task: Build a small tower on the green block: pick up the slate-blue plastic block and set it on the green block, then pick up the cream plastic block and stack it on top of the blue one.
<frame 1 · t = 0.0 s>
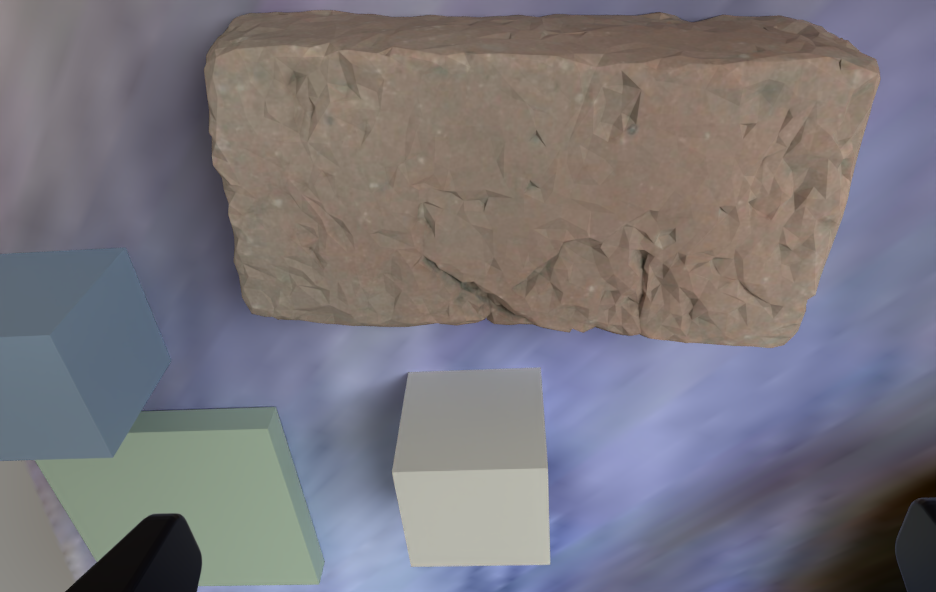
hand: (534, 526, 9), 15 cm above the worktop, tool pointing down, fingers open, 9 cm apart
brick: (517, 148, 22), on the worktop
blue block: (84, 308, 26), on the worktop
green block: (191, 493, 31), on the worktop
cream block: (478, 416, 28), on the worktop
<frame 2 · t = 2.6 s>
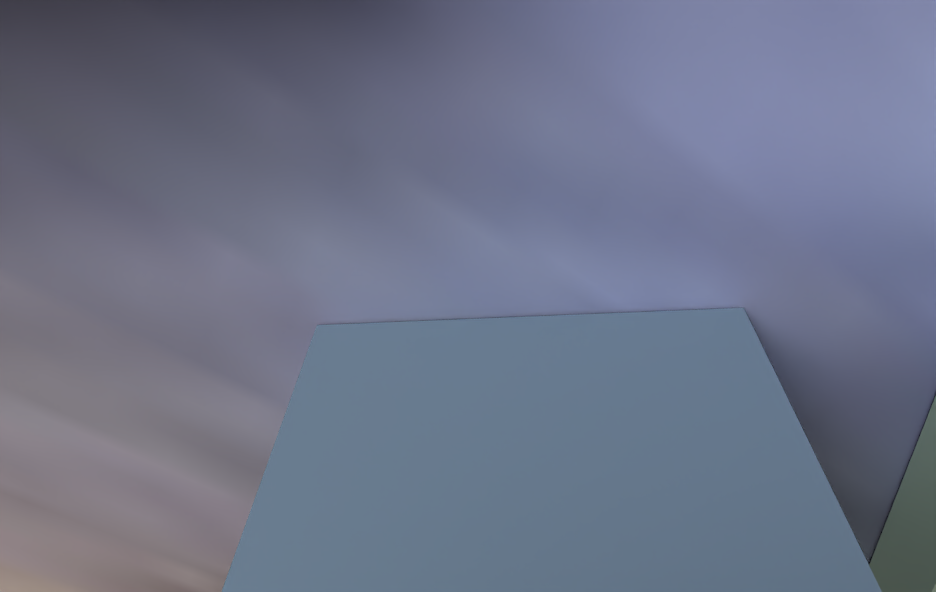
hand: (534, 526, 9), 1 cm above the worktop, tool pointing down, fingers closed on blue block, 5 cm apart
blue block: (531, 463, 10), on the worktop, touching gripper
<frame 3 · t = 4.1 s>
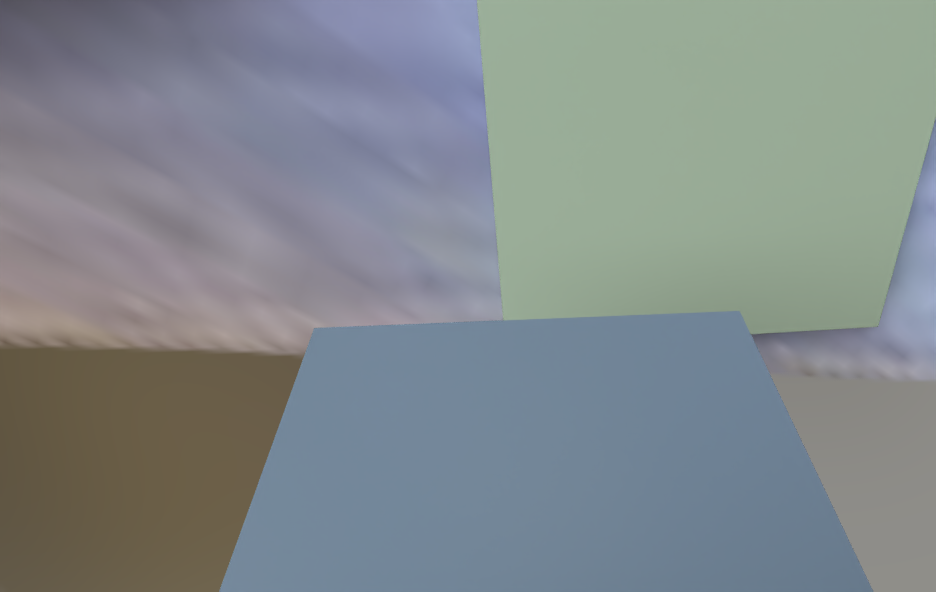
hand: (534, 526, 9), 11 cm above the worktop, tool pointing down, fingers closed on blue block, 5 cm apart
blue block: (528, 465, 10), point 10 cm above the worktop, touching gripper
green block: (692, 148, 18), on the worktop
when the fingers open (3 cm above the worktop, at t = 6.0 s): blue block drops 1 cm, resting on green block.
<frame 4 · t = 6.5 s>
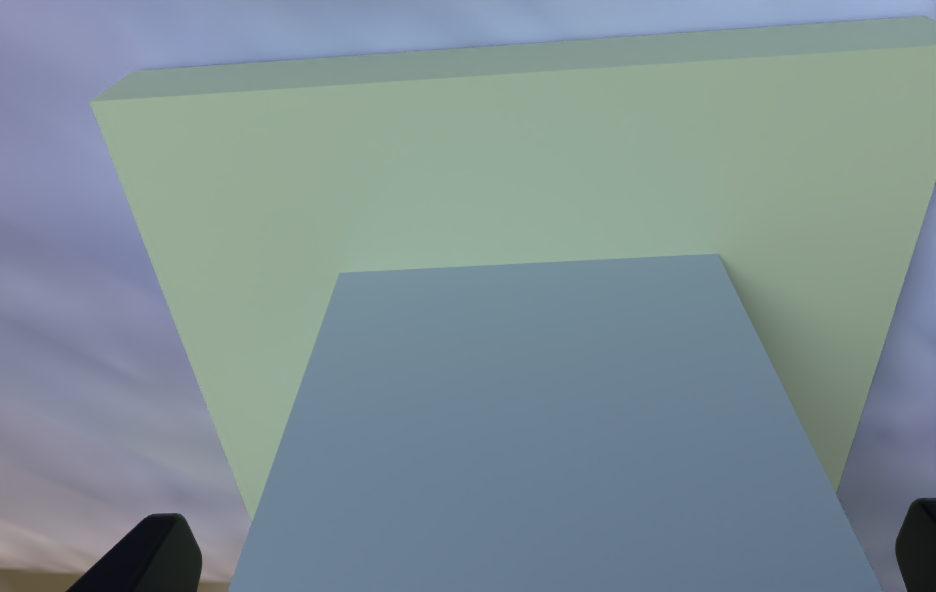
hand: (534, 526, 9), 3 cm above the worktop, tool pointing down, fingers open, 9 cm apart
blue block: (530, 402, 11), point 1 cm above the worktop, touching green block
green block: (525, 352, 12), on the worktop
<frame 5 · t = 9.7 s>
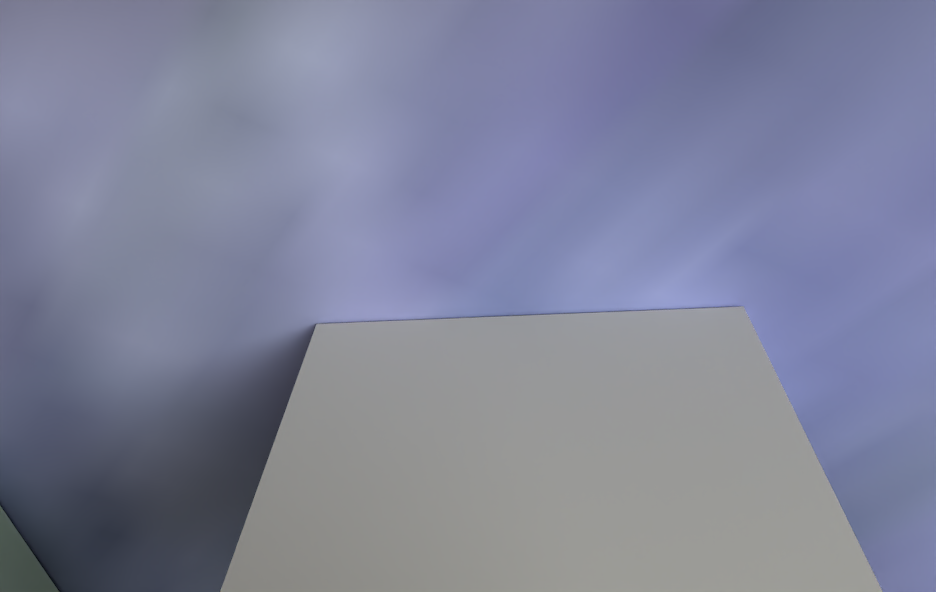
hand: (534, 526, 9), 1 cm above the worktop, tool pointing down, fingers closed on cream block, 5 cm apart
cream block: (531, 462, 10), on the worktop, touching gripper
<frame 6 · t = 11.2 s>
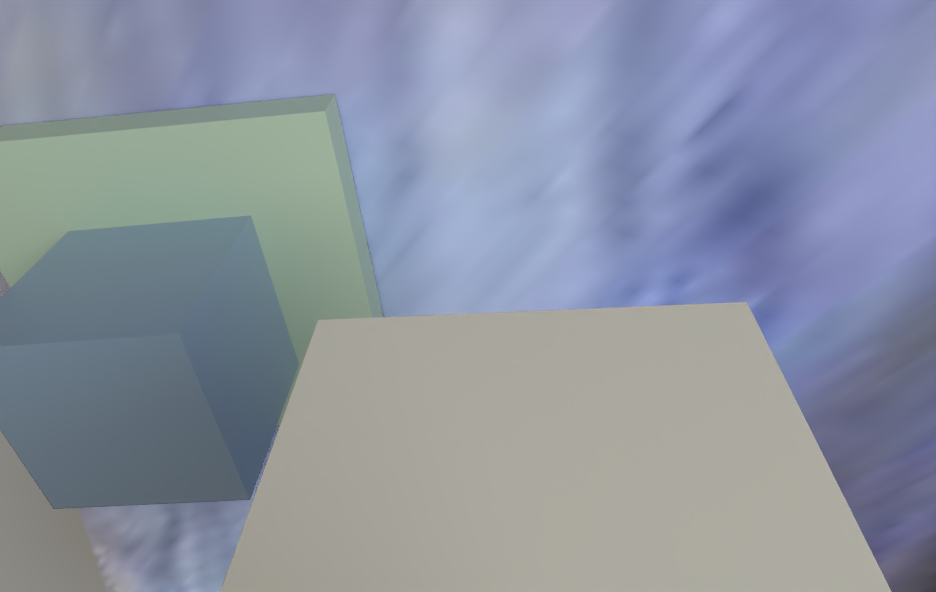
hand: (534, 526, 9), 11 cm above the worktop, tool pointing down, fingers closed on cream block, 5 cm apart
blue block: (190, 301, 20), point 1 cm above the worktop, touching green block
green block: (205, 276, 21), on the worktop
cream block: (533, 459, 10), point 10 cm above the worktop, touching gripper
when the fingers open (8 cm above the worktop, at t = 13.0 s): cream block drops 1 cm, resting on blue block.
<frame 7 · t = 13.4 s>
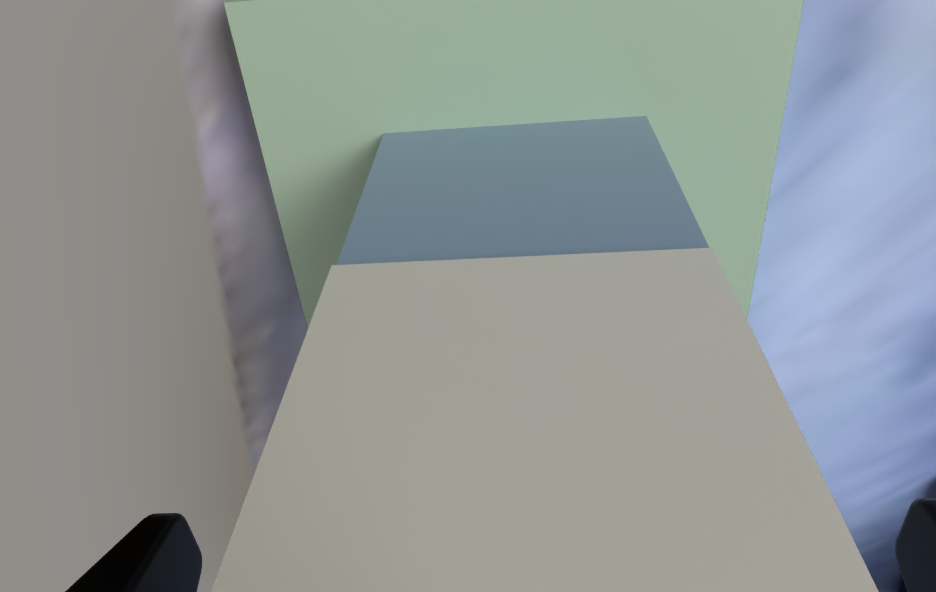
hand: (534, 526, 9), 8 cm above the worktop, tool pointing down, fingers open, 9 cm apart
blue block: (518, 238, 15), point 1 cm above the worktop, touching green block, cream block
green block: (518, 209, 16), on the worktop
cream block: (524, 397, 11), point 6 cm above the worktop, touching blue block
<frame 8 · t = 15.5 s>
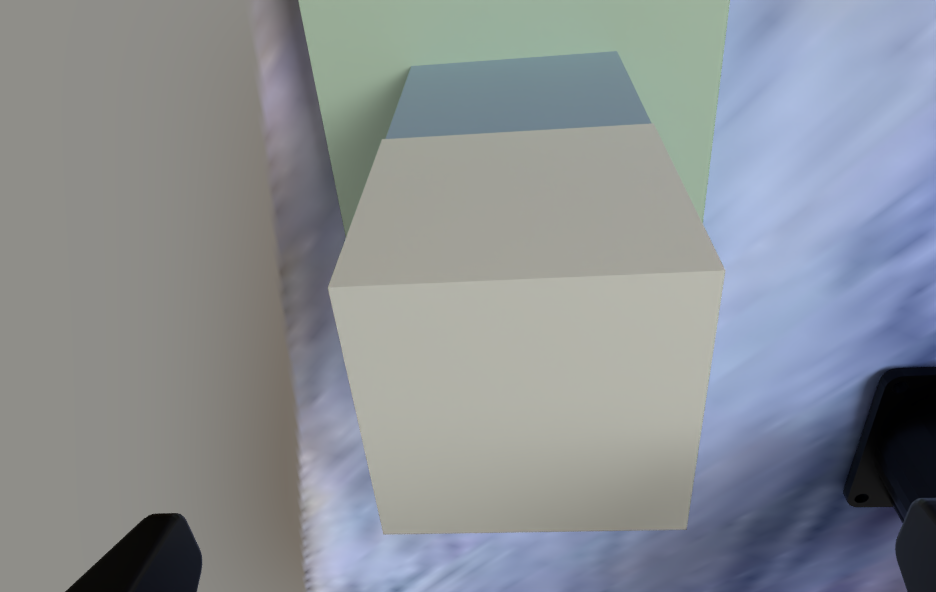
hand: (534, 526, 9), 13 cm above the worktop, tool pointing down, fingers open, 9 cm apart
blue block: (517, 154, 19), point 1 cm above the worktop, touching green block, cream block
green block: (517, 135, 20), on the worktop
cream block: (520, 248, 14), point 6 cm above the worktop, touching blue block
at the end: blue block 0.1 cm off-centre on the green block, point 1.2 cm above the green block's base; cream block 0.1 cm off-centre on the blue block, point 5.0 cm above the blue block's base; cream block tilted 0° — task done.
